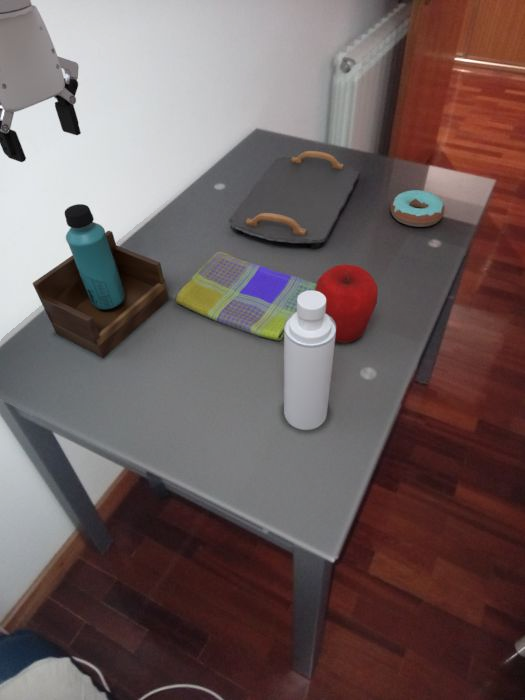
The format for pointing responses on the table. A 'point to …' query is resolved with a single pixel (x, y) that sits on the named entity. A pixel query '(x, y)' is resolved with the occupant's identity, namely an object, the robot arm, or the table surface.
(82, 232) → the beverage bottle
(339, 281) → the apple
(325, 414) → the spray bottle
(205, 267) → the dish towel
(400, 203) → the donut
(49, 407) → the table surface
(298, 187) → the serving tray
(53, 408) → the table surface
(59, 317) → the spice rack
